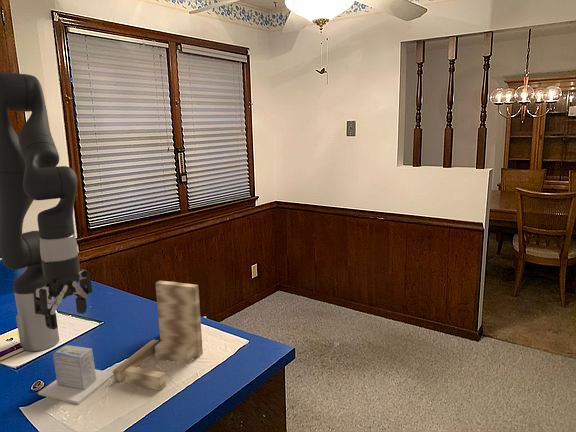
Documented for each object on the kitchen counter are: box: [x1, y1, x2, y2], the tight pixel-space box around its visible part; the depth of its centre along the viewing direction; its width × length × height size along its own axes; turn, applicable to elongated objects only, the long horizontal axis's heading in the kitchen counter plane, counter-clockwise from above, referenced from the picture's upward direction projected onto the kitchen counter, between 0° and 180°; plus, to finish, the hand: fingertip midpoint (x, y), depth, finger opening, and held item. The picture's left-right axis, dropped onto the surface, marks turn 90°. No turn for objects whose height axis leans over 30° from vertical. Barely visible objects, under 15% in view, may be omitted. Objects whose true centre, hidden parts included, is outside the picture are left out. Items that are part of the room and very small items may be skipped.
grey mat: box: [37, 368, 114, 405], centre depth 106 cm, size 12×12×1 cm
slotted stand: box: [112, 280, 204, 392], centre depth 111 cm, size 14×18×20 cm
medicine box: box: [52, 344, 96, 389], centre depth 105 cm, size 8×4×9 cm, turn 75°
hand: (67, 320), depth 102 cm, fingers open, 8 cm apart
